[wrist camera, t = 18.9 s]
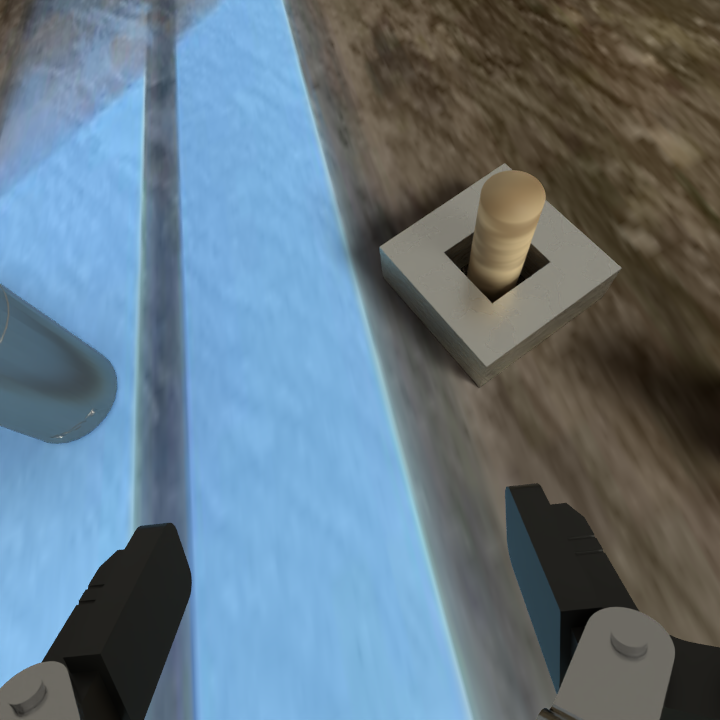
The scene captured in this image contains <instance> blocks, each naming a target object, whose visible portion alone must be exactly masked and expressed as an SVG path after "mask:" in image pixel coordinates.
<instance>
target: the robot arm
mask: <svg viewBox="0 0 720 720" xmlns="http://www.w3.org/2000/svg"><path fill="white" fill-rule="evenodd" d="M116 391H117V377H116V374H115V370H114V368H113V366H112V365H111V363H110V361H109V360H108V359H107V358H106V357H105V356H103V355H102V354H101V353H99V352H98V351H96V350H95V349H93V348H92V347H91V346H89V345H88V344H86V343H85V342H83V341H82V340H81V339H79V338H78V337H76V336H75V335H74V334H72V333H71V332H69V331H68V330H66V329H65V328H63V327H62V326H61V325H59V324H58V323H56V322H55V321H53V320H52V319H51V318H49V317H48V316H46V315H45V314H43V313H42V312H41V311H39V310H38V309H36V308H35V307H33V306H32V305H30V304H29V303H28V302H26V301H25V300H23V299H22V298H20V297H19V296H18V295H16V294H15V293H13V292H12V291H10V290H9V289H8V288H6V287H5V286H3V285H2V284H0V426H2V427H4V428H7V429H10V430H13V431H15V432H18V433H21V434H24V435H27V436H30V437H33V438H36V439H39V440H41V441H44V442H47V443H56V444H59V443H68V442H71V441H74V440H77V439H79V438H81V437H83V436H85V435H87V434H89V433H90V432H91V431H92V430H94V429H95V428H96V427H97V426H98V425H99V424H100V423H101V422H102V421H103V420H104V419H105V417H106V416H107V414H108V413H109V411H110V409H111V407H112V405H113V402H114V400H115V396H116ZM505 499H506V526H507V543H508V550H509V555H510V560H511V563H512V567H513V570H514V572H515V575H516V578H517V581H518V584H519V587H520V590H521V592H522V595H523V598H524V601H525V604H526V607H527V610H528V613H529V615H530V618H531V621H532V624H533V627H534V630H535V633H536V635H537V638H538V641H539V644H540V647H541V650H542V653H543V655H544V658H545V661H546V664H547V667H548V670H549V673H550V676H551V678H552V681H553V684H554V687H555V690H556V693H557V696H556V699H555V701H554V703H553V705H552V707H551V708H550V710H548V709H547V708H544V709H542V711H541V712H540V713H539V715H538V717H537V719H536V720H720V648H719V647H714V646H708V645H703V644H697V643H692V642H688V641H684V640H681V639H678V638H675V637H673V636H671V635H669V634H668V633H667V632H666V630H665V629H664V628H663V627H662V626H661V625H660V624H659V623H658V622H656V621H655V620H654V619H652V618H651V617H649V616H647V615H646V614H644V613H641V612H640V611H639V610H638V609H637V607H636V605H635V604H634V602H633V600H632V598H631V597H630V595H629V593H628V592H627V590H626V588H625V586H624V585H623V583H622V581H621V580H620V578H619V576H618V574H617V573H616V571H615V569H614V568H613V566H612V564H611V562H610V561H609V559H608V557H607V556H606V554H605V553H603V549H602V547H601V545H600V544H599V542H598V540H597V538H595V536H594V533H593V531H592V530H591V528H590V526H589V525H588V523H587V521H586V519H585V518H584V517H583V516H582V515H581V514H580V513H578V512H577V511H576V510H574V509H573V508H572V507H571V506H569V505H568V504H567V503H562V504H552V505H550V503H549V501H548V499H547V497H546V495H545V493H544V492H543V490H542V488H541V486H540V485H539V484H538V483H536V484H527V485H518V486H509V487H506V490H505ZM191 586H192V579H191V571H190V568H189V565H188V562H187V559H186V556H185V553H184V550H183V547H182V544H181V541H180V538H179V536H178V533H177V530H176V527H175V526H174V525H173V524H172V523H163V524H154V525H145V526H140V527H138V528H137V529H136V531H135V532H134V534H133V536H132V537H131V539H130V541H129V543H128V544H127V546H126V548H125V549H124V550H117V551H116V552H115V553H114V554H113V555H112V556H111V557H110V558H109V559H108V560H107V561H106V562H104V563H103V564H102V565H101V566H100V567H99V569H98V570H97V572H96V574H95V575H94V577H93V579H92V580H91V582H90V584H89V585H88V589H87V590H85V592H84V593H83V595H82V597H81V598H80V600H79V605H76V607H75V608H74V610H73V611H72V613H71V615H70V616H69V618H68V620H67V621H66V623H65V625H64V626H63V628H62V630H61V631H60V633H59V634H58V636H57V638H56V639H55V641H54V643H53V644H52V646H51V648H50V649H49V651H48V653H47V654H46V656H45V658H44V659H43V661H42V662H41V663H38V664H35V665H33V666H30V667H28V668H26V669H25V670H23V671H21V672H20V673H18V674H16V675H15V676H14V677H12V678H11V679H10V680H9V681H8V682H6V683H5V684H4V685H3V686H2V687H1V688H0V720H144V718H145V716H146V713H147V710H148V708H149V705H150V702H151V700H152V697H153V694H154V692H155V689H156V686H157V683H158V681H159V678H160V675H161V673H162V670H163V667H164V665H165V662H166V659H167V657H168V654H169V651H170V649H171V646H172V643H173V641H174V638H175V635H176V633H177V630H178V627H179V625H180V622H181V619H182V617H183V614H184V611H185V608H186V606H187V603H188V600H189V597H190V594H191Z"/></svg>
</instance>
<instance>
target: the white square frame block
mask: <svg viewBox="0 0 720 720" xmlns="http://www.w3.org/2000/svg"><path fill="white" fill-rule="evenodd" d="M509 170H512V169H510V168H509V167H508V166H507V165H506V164H503V165H502V166H500V167H499V168H497V169H496V170H494V171H493V172H491V173H490V174H488V175H487V176H485V177H484V178H482V179H481V180H479V181H478V182H476V183H475V184H473V185H472V186H470V187H469V188H467V189H466V190H464V191H463V192H461V193H460V194H458V195H457V196H455V197H454V198H452V199H451V200H449V201H448V202H446V203H445V204H443V205H442V206H440V207H439V208H437V209H436V210H434V211H433V212H431V213H430V214H428V215H427V216H425V217H424V218H422V219H421V220H419V221H418V222H416V223H415V224H413V225H412V226H410V227H409V228H407V229H406V230H404V231H403V232H401V233H400V234H398V235H397V236H395V237H394V238H392V239H391V240H389V241H388V242H386V243H385V244H383V245H382V246H380V247H379V248H380V256H381V265H382V274H383V278H384V279H385V280H386V281H387V282H388V283H389V284H390V286H391V287H392V288H393V289H394V290H395V291H396V292H397V294H398V295H399V296H400V297H401V298H402V299H403V301H404V302H405V303H406V304H407V305H408V306H409V307H410V309H411V310H412V311H413V312H414V313H415V314H416V315H417V317H418V318H419V319H420V320H421V321H422V322H423V323H424V325H425V326H426V327H427V328H428V329H429V330H430V332H431V333H432V334H433V335H434V336H435V337H436V338H437V340H438V341H439V342H440V343H441V344H442V345H443V346H444V348H445V349H446V350H447V351H448V352H449V353H450V354H451V356H452V357H453V358H454V359H455V360H456V361H457V363H458V364H459V365H460V366H461V367H462V368H463V369H464V371H465V372H466V373H467V374H468V375H469V376H470V377H471V379H472V380H473V381H474V382H475V383H476V384H477V385H478V387H479V388H480V387H481V386H483V385H484V384H486V383H487V382H488V381H490V380H491V379H492V378H494V377H495V376H496V375H498V374H499V373H500V372H502V371H503V370H505V369H506V368H507V367H509V366H510V365H511V364H513V363H514V362H515V361H517V360H518V359H519V358H521V357H522V356H524V355H525V354H526V353H528V352H529V351H530V350H532V349H533V348H534V347H536V346H537V345H538V344H540V343H541V342H543V341H544V340H545V339H547V338H548V337H549V336H551V335H552V334H553V333H555V332H556V331H557V330H559V329H560V328H561V327H563V326H564V325H566V324H567V323H568V322H570V321H571V320H572V319H574V318H575V317H576V316H578V315H579V314H580V313H582V312H583V311H585V310H586V309H587V308H589V307H590V306H591V305H593V304H594V303H595V302H597V301H598V300H599V299H601V298H602V297H603V295H604V294H605V292H606V291H607V289H608V288H609V286H610V285H611V283H612V282H613V280H614V279H615V277H616V276H617V274H618V273H619V271H620V270H621V267H620V266H619V265H618V264H617V263H615V262H614V261H613V260H612V259H611V258H610V257H609V256H608V255H606V254H605V253H604V252H603V251H602V250H601V249H600V248H599V247H598V246H596V245H595V244H594V243H593V242H592V241H591V240H590V239H589V238H587V237H586V236H585V235H584V234H583V233H582V232H581V231H580V230H579V229H577V228H576V227H575V226H574V225H573V224H572V223H571V222H570V221H569V220H567V219H566V218H565V217H564V216H563V215H562V214H561V213H560V212H558V211H557V210H556V209H555V208H554V207H553V206H552V205H551V204H550V203H548V202H547V201H546V200H545V203H544V206H543V209H542V212H541V215H540V218H539V221H538V223H537V226H536V229H535V232H534V235H533V238H532V241H531V244H530V247H529V250H528V252H527V255H526V258H525V261H524V264H523V267H522V270H521V273H520V274H521V275H522V276H523V277H524V278H525V279H526V280H525V281H523V282H522V283H521V284H519V285H518V286H516V287H515V288H513V289H512V290H511V291H509V292H508V293H506V294H505V295H504V296H502V297H501V298H499V299H498V300H497V301H495V302H494V303H491V302H490V301H489V300H488V299H487V297H486V296H485V295H484V294H483V293H482V292H481V291H480V290H479V289H478V288H477V287H476V286H475V285H474V284H473V283H472V282H471V281H470V280H469V279H468V278H467V277H466V275H465V274H464V273H463V272H462V271H461V270H460V269H461V268H463V267H464V266H466V265H467V264H468V263H469V260H470V254H471V248H472V242H473V236H474V230H475V224H476V218H477V212H478V206H479V200H480V194H481V189H482V187H483V185H484V183H485V182H486V181H487V180H488V179H489V178H490V177H491V176H493V175H495V174H497V173H499V172H503V171H509Z"/></svg>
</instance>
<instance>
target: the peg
mask: <svg viewBox="0 0 720 720" xmlns="http://www.w3.org/2000/svg"><path fill="white" fill-rule="evenodd" d="M545 198H546V197H545V190H544V188H543V186H542V184H541V183H540V182H539V181H538V180H537V179H536V178H535V177H533V176H532V175H530V174H528V173H525V172H522V171H516V170H509V171H503V172H499V173H497V174H495V175H493V176H491V177H490V178H489V179H488V180H487V181H486V182H485V183H484V185H483V187H482V189H481V194H480V200H479V206H478V212H477V218H476V224H475V230H474V236H473V242H472V248H471V254H470V260H469V266H468V272H467V278H468V279H469V280H470V281H471V282H472V283H473V284H474V285H475V286H476V287H477V288H478V289H479V290H480V291H481V292H482V293H483V294H484V295H485V296H486V297H487V299H488V300H489V301H490V302H491V303H494V302H495V301H497V300H498V299H499V298H501V297H502V296H504V295H505V294H506V293H508V292H509V291H511V290H512V289H513V288H515V287H516V284H517V281H518V279H519V276H520V273H521V270H522V267H523V264H524V261H525V258H526V255H527V252H528V250H529V247H530V244H531V241H532V238H533V235H534V232H535V229H536V226H537V223H538V221H539V218H540V215H541V212H542V209H543V206H544V203H545Z"/></svg>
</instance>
